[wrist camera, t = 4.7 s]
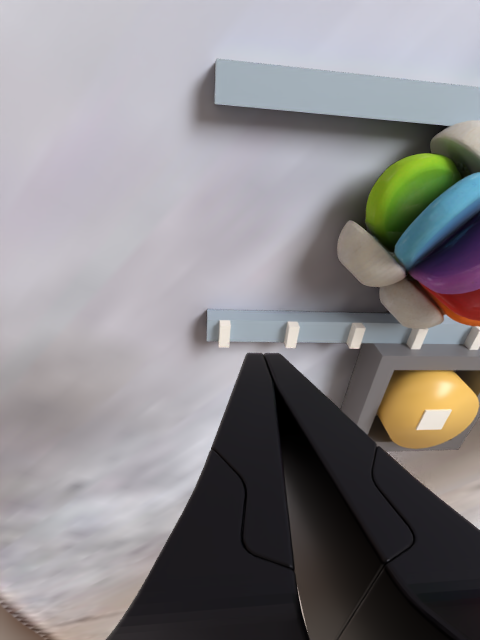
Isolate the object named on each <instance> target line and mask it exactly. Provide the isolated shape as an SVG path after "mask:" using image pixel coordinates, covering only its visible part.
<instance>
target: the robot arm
mask: <svg viewBox="0 0 480 640" xmlns="http://www.w3.org/2000/svg"><path fill="white" fill-rule="evenodd" d="M297 587H298V589H297ZM298 591H299V595H298ZM299 596H300V600H301V604H302V609H303V613H304V618H305V622H306V626H307V629H306V626H305V623H304V619H303V616H302V611H301V606H300V601H299ZM307 631H308V632H307ZM106 640H480V530H479V529H478V528H476V527H475V526H474V525H473V524H471V523H470V522H469V521H468V520H466V519H465V518H464V517H463V516H461V515H460V514H459V513H458V512H456V511H455V510H454V509H452V508H451V507H450V506H449V505H447V504H446V503H445V502H444V501H442V500H441V499H440V498H439V497H438V496H436V495H435V494H434V493H433V492H431V491H430V490H429V489H428V488H427V487H425V486H424V485H423V484H422V483H421V482H419V481H418V480H417V479H416V478H415V477H413V476H412V475H411V474H410V473H409V472H408V471H407V470H406V469H404V468H403V467H402V466H401V465H400V464H399V463H398V462H397V461H395V460H394V459H393V458H392V457H391V456H390V455H389V454H388V453H387V452H386V451H385V450H384V449H382V448H381V447H380V446H377V443H376V442H375V441H374V440H373V439H371V438H370V437H369V436H368V435H367V434H366V433H365V432H364V431H363V430H362V429H361V428H360V427H359V426H358V425H356V424H355V423H354V422H353V421H352V420H351V419H350V418H349V417H348V416H347V415H346V414H345V413H344V412H342V411H341V410H340V409H339V408H338V407H337V406H336V405H335V404H334V403H333V402H332V401H331V400H330V399H328V398H327V397H326V396H325V395H324V394H323V393H322V392H321V391H320V390H319V389H318V388H317V387H316V386H314V385H313V384H312V383H311V382H310V381H309V380H308V379H307V378H306V377H305V376H304V375H303V374H302V373H300V372H299V371H298V370H297V369H296V368H295V367H294V366H293V365H292V364H291V363H290V362H289V361H288V360H286V359H285V358H284V357H283V356H282V355H281V354H279V353H265V354H264V355H263V354H262V353H247V354H246V356H245V359H244V362H243V364H242V367H241V370H240V372H239V375H238V378H237V380H236V383H235V386H234V388H233V391H232V394H231V396H230V399H229V402H228V404H227V407H226V410H225V412H224V415H223V418H222V421H221V423H220V426H219V429H218V431H217V434H216V437H215V439H214V442H213V445H212V447H211V451H210V452H209V455H208V457H207V460H206V463H205V465H204V468H203V470H202V472H201V475H200V477H199V480H198V482H197V484H196V487H195V489H194V491H193V493H192V495H191V497H190V499H189V501H188V503H187V505H186V507H185V509H184V511H183V513H182V515H181V516H180V518H179V520H178V522H177V524H176V526H175V527H174V529H173V531H172V533H171V535H170V536H169V538H168V540H167V542H166V544H165V546H164V547H163V549H162V551H161V553H160V555H159V557H158V558H157V560H156V562H155V564H154V566H153V567H152V569H151V571H150V573H149V575H148V577H147V578H146V580H145V582H144V584H143V585H142V587H141V589H140V590H139V592H138V594H137V596H136V597H135V599H134V600H133V602H132V604H131V605H130V607H129V608H128V610H127V611H126V613H125V614H124V616H123V617H122V619H121V620H120V622H119V623H118V625H117V626H116V627H115V629H114V630H113V631H112V633H111V634H110V635H109V636H108V637H107V639H106Z"/></svg>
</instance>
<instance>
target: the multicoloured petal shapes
mask: <svg viewBox="0 0 480 640" xmlns="http://www.w3.org/2000/svg"><path fill="white" fill-rule="evenodd" d="M430 149H431V153H432V154H430V153H422V154H416V155H411V156H408V157H406V158H403V159H401V160H399V161H397V162H395V163H394V164H392V165H391V166H390V167H388V168H387V169H386V170H385V171H384V173H383V174H382V175H381V176H380V177H379V178H378V180H377V181H376V183H375V184H374V186H373V188H372V190H371V192H370V194H369V197H368V201H367V205H366V220H365V224H366V226H367V231H366V230H364V229H363V228H362V227H361V226H360V225H358V224H357V223H355V222H354V221H352V220H349V221H348V222H347V223H346V224H345V226H344V227H343V229H342V231H341V233H340V236H339V239H338V244H337V254H338V258H339V260H340V262H341V263H342V264H343V265H344V266H345V267H346V268H347V269H348V270H349V271H350V272H351V273H352V274H353V275H354V276H355V277H356V278H357V279H358V281H360V282H361V283H362V284H363V285H366V286H371V287H380V290H379V297H380V301H381V303H382V304H383V305H384V306H385V307H386V309H387V310H388V311H389V312H390V313H391V314H392V315H393V316H394V317H395V318H396V319H397V320H398V321H399V322H400V323H401V324H402V325H403V326H405V327H407V328H413V329H426V328H431V327H434V326H436V325H439V324H441V323H442V322H443V321H444V315H447V316H448V317H450V318H451V319H452V320H454V321H456V322H459V323H461V324H465V325H469V326H477V327H480V120H471V121H465V122H461V123H457V124H454V125H452V126H450V127H448V128H446V129H444V130H443V131H441V132H440V133H438V134H437V135H435V136H434V137H433V139H432V140H431V143H430ZM407 271H408V275H407V276H406V272H407ZM405 276H406V277H405Z"/></svg>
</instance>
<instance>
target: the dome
mask: <svg viewBox="0 0 480 640" xmlns="http://www.w3.org/2000/svg"><path fill="white" fill-rule="evenodd" d="M478 408H479V401H478V398H477V396H476V394H475V393H474V392H473V391H472V390H471V389H470V388H469V387H468V386H467V385H466V384H465V382H464V381H463V380H462V379H461V378H460V377H459V376H458V375H457V374H456V373H455V372H454V371H453V370H394V372H393V374H392V377H391V379H390V381H389V384H388V386H387V389H386V391H385V394H384V396H383V399H382V401H381V404H380V406H379V408H378V411H377V415H378V417H379V419H380V420H381V422H382V424H383V426H384V428H385V429H386V431H387V433H388V435H389V436H390V438H391V440H392V441H393V442H394V443H396V444H397V445H399V446H402V447H405V448H411V449H421V448H428V447H432V446H436V445H439V444H442V443H444V442H446V441H448V440H450V439H452V438H454V437H455V436H457V435H458V434H460V433H461V432H462V431H464V430H465V429H466V428H467V427H468V426H469V425H470V424H471V423H472V421H473V420H474V418H475V417H476V415H477V412H478Z"/></svg>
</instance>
